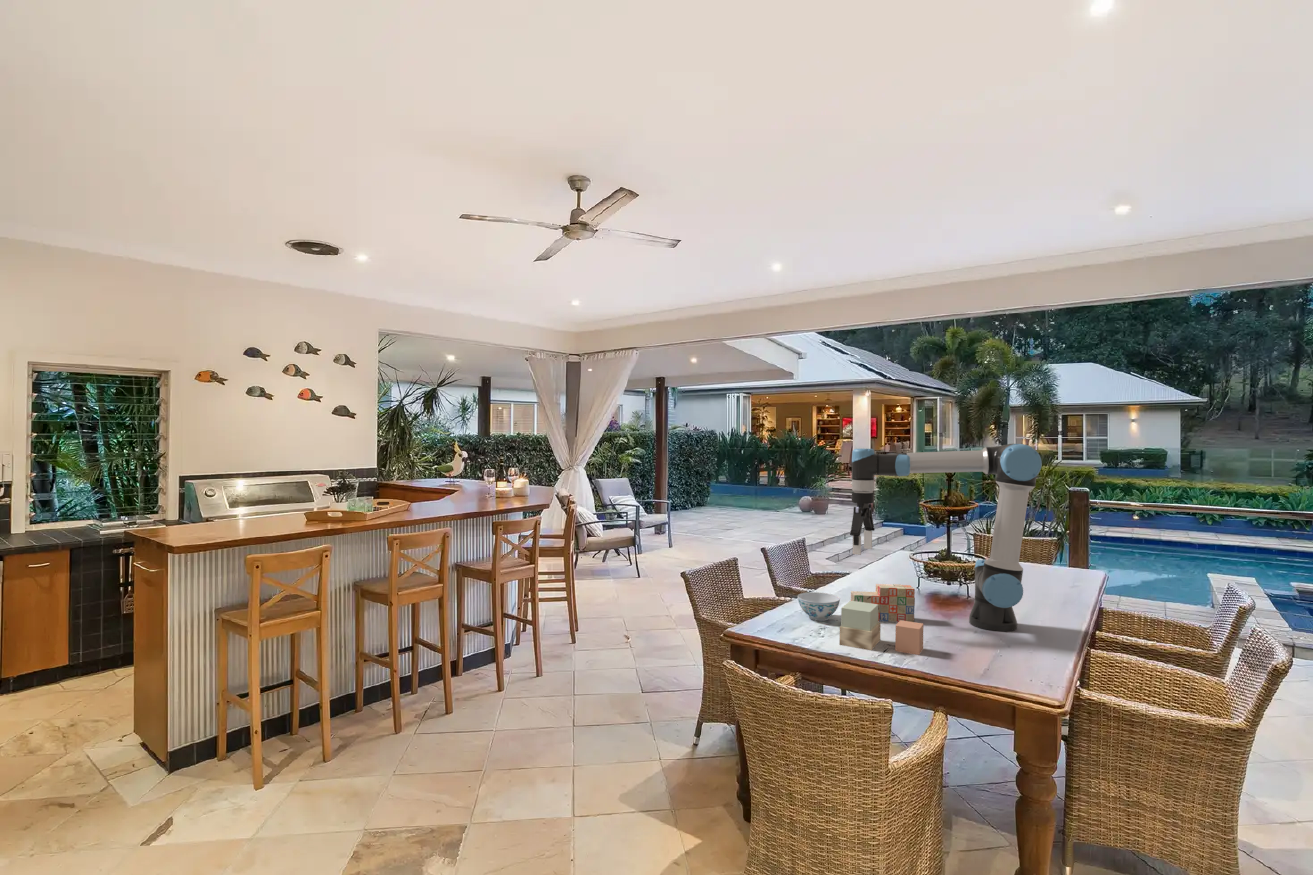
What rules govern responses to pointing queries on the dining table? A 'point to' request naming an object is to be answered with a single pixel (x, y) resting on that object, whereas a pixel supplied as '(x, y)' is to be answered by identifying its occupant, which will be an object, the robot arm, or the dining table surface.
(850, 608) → the tower top block
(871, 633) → the tower base block
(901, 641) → the terracotta block
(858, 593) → the stack of blocks
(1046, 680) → the dining table surface
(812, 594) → the chinaware
